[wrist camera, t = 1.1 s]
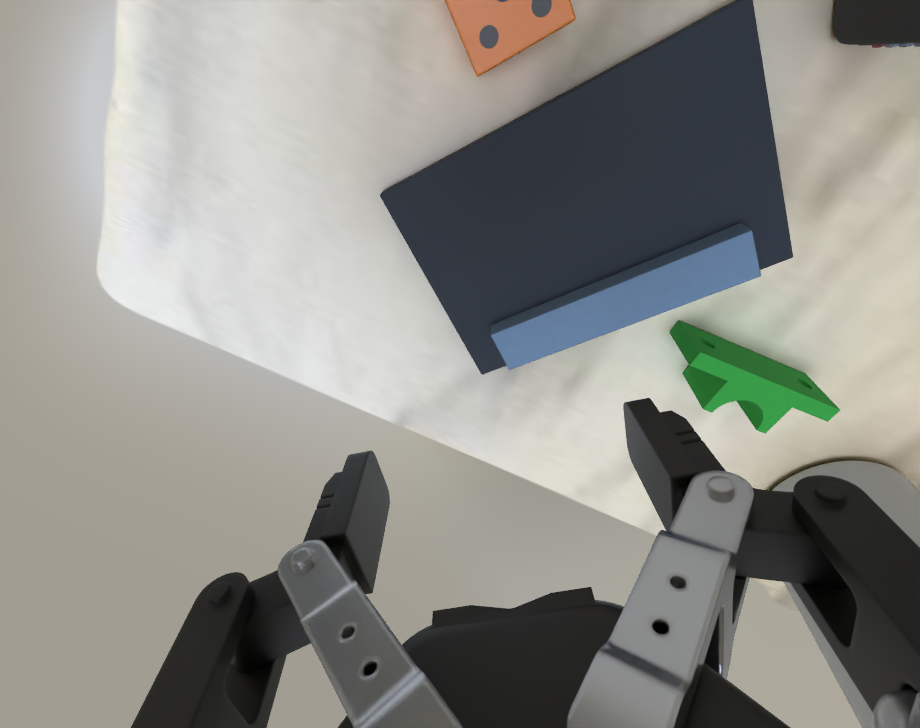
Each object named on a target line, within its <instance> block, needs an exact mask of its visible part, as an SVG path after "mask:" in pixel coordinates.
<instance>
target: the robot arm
mask: <svg viewBox="0 0 920 728" xmlns="http://www.w3.org/2000/svg"><path fill="white" fill-rule="evenodd" d="M624 418H625V428H626V438H627V446H628V451H629V455H630V458H631V461H632V463H633V465H634V467H635V469H636V471H637V473H638V475H639V477H640V479H641V481H642V483H643V485H644V487H645V489H646V491H647V493H648V495H649V497H650V499H651V501H652V503H653V505H654V507H655V509H656V511H657V513H658V515H659V517H660V519H661V521H662V523H663V525H664V527H665V529H666V531H664V530H661V531H660V532H659V533H658V535H657V537H656V539H655V541H654V543H653V545H652V548H651V550H650V552H649V554H648V556H647V559H646V561H645V563H644V565H643V567H642V569H641V572H640V574H639V576H638V578H637V580H636V582H635V584H634V587H633V589H632V591H631V593H630V595H629V597H628V600H627V602H626V604H625V606H624V607H623V606H621V605H617V604H614V603H611V602H606V601H599V600H595V599H594V596H593V592H592V589H591V587H588V588H581V589H575V590H568V591H561V592H555V593H550V594H548V595H545V596H543V597H540V598H538V599H535V600H533V601H530V602H528V603H525V604H523V605H521V606H518V607H516V608H512V609H505V608H493V607H484V606H483V607H482V606H473V605H470V606H463V607H457V608H450V609H444V610H437V611H433V619H432V625H431V626H428V627H426V628H425V629H423V630H421V631H419V632H418V633H416V634H415V635H413V636H412V637H410V638H409V639H408V640H407V641H406V642H405V643H403V645H401V644H400V642H399V641H398V639H397V638H396V636H395V635H394V634H393V632H392V631H391V630H390V628H389V627H388V626H387V624H386V622H385V621H384V620H383V618H382V617H381V615H380V614H379V613H378V611H377V610H376V609H375V607H374V606H373V604H372V603H371V602H370V600H369V599H368V598H367V596H366V595H365V594H370V593H373V588H374V583H375V578H376V572H377V567H378V562H379V557H380V552H381V547H382V542H383V536H384V531H385V526H386V521H387V516H388V510H389V504H390V501H389V500H390V499H389V491H388V488H387V485H386V482H385V479H384V477H383V474H382V472H381V469H380V467H379V464H378V461H377V459H376V456H375V454H374V452H373V451H367V452H361V453H356V454H351V455H349V456H348V457H347V460H346V463H345V465H344V468H343V471H342V472H339V473H335V474H334V475H333V477H332V478H331V479H330V480H329V481H328V482H327V483H326V485H325V487H324V489H323V492H322V494H321V499H320V500H319V502H318V505H317V509H316V510H315V513H314V515H313V518H312V520H311V523H310V526H309V528H308V531H307V534H306V536H305V539H304V541H303V543H301V544H299V545H297V546H295V547H294V548H292V549H291V550H290V551H289V552H288V553H287V554H286V555H285V556H284V557H283V558H282V560H281V562H280V564H279V566H278V570H277V571H275V572H273V573H271V574H268V575H266V576H264V577H261V578H259V579H257V580H254V581H252V582H250V583H249V581H248V579H247V578H246V576H245V575H244V574H242V573H238V572H234V573H229V574H226V575H223V576H221V577H219V578H217V579H216V580H214V581H213V582H211V583H210V584H209V585H208V586H206V587H205V588H204V589H203V590H202V592H201V593H200V594H199V596H198V597H197V599H196V600H195V602H194V604H193V606H192V608H191V610H190V612H189V614H188V616H187V618H186V620H185V622H184V624H183V626H182V628H181V630H180V632H179V634H178V636H177V638H176V640H175V642H174V644H173V646H172V648H171V650H170V652H169V654H168V655H167V658H166V659H165V661H164V663H163V665H162V667H161V669H160V671H159V673H158V675H157V677H156V679H155V681H154V683H153V685H152V687H151V689H150V691H149V693H148V695H147V697H146V699H145V701H144V703H143V705H142V707H141V709H140V711H139V713H138V715H137V717H136V719H135V721H134V723H133V725H132V726H131V728H266V727H267V723H268V720H269V716H270V712H271V709H272V705H273V702H274V698H275V695H276V691H277V688H278V684H279V680H280V677H281V673H282V669H283V666H284V662H285V659H286V655H287V654H289V653H291V652H293V651H295V650H297V649H299V648H301V647H303V646H306V645H308V644H310V643H311V644H312V646H313V648H314V649H315V652H316V654H317V655H318V657H319V659H320V661H321V663H322V665H323V667H324V669H325V671H326V673H327V675H328V677H329V679H330V681H331V683H332V685H333V687H334V689H335V691H336V693H337V695H338V697H339V699H340V701H341V703H342V705H343V707H344V709H345V711H346V713H347V716H346V717H345V719H344V720H343V721H342V723H341V724H340V725H339V727H338V728H790V727H789V726H787V725H786V724H785V723H783V722H782V721H781V720H779V719H778V718H777V717H775V716H774V715H773V714H771V713H770V712H769V711H768V710H766V709H765V708H764V707H762V706H761V705H760V704H758V703H757V702H756V701H754V700H753V699H752V698H750V697H749V696H748V695H746V694H745V693H743V692H742V691H741V690H740V689H738V688H737V687H736V686H734V685H733V684H732V683H730V682H729V681H728V680H726V679H727V675H728V670H729V665H730V659H731V653H732V646H733V640H734V635H735V631H736V627H737V623H738V620H739V615H740V612H741V608H742V604H743V600H744V597H745V593H746V589H747V585H748V582H749V578H758V579H767V580H775V581H783V582H790V583H791V585H792V587H793V588H794V590H795V591H796V593H797V594H798V596H799V598H800V599H801V601H802V602H803V604H804V605H805V607H806V609H807V610H808V612H809V613H810V615H811V616H812V618H813V620H814V621H815V623H816V624H817V626H818V627H819V629H820V631H821V632H822V634H823V635H824V637H825V638H826V640H827V642H828V643H829V645H830V646H831V648H832V649H833V651H834V653H835V654H836V656H837V657H838V659H839V660H840V662H841V664H842V665H843V667H844V668H845V670H846V671H847V673H848V675H849V676H850V678H851V679H852V681H853V682H854V684H855V686H856V687H857V689H858V690H859V692H860V693H861V695H862V697H863V698H864V700H865V701H866V703H867V704H868V706H869V708H870V709H871V711H872V712H873V716H872V720H871V724H870V728H920V547H919V546H918V545H917V544H916V543H915V542H914V541H913V540H912V539H911V538H910V537H909V536H908V535H907V534H906V533H905V532H904V531H903V530H902V529H901V528H900V527H899V526H898V525H897V524H896V523H895V522H894V521H893V520H892V519H891V518H890V517H889V516H888V515H887V514H886V513H885V512H884V511H883V510H882V509H881V508H880V507H879V506H878V505H877V504H876V503H875V502H874V501H873V500H872V499H871V498H870V497H869V496H868V495H867V494H866V493H865V492H864V491H863V490H862V489H861V488H859V487H858V486H856V485H855V484H853V483H851V482H849V481H846V480H844V479H840V478H837V477H832V476H825V475H814V476H808V477H805V478H802V479H800V480H799V481H798V482H797V483H796V484H795V486H794V490H793V492H784V491H768V490H760V489H755V488H752V486H751V485H750V484H749V483H748V482H747V481H746V480H745V479H743V478H742V477H740V476H738V475H736V474H733V473H730V472H726V471H725V470H724V468H723V467H722V466H721V464H720V463H719V462H718V460H717V459H716V458H715V457H714V455H713V454H712V453H711V451H710V450H709V449H708V447H707V446H706V445H705V443H704V442H703V441H701V438H700V437H699V436H698V434H697V433H696V432H694V429H693V428H692V426H691V425H690V424H689V422H688V421H687V420H686V419H685V418H684V417H682V416H680V415H678V414H676V413H675V412H673V411H666V412H661V413H660V412H659V411H658V409H657V408H656V406H655V405H654V403H653V402H652V400H651V399H650V398H646V399H641V400H635V401H630V402H625V403H624Z"/></svg>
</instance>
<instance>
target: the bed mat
mask: <svg viewBox="0 0 920 728" xmlns="http://www.w3.org/2000/svg"><path fill="white" fill-rule="evenodd" d="M380 197H381V198H382V200H383V202H384V204H385V205H386V207H387V209H388V211H389V213H390V214H391V216H392V218H393V220H394V221H395V223H396V225H397V227H398V228H399V230H400V232H401V234H402V235H403V237H404V239H405V241H406V242H407V244H408V246H409V248H410V249H411V251H412V253H413V255H414V256H415V258H416V260H417V262H418V263H419V265H420V267H421V269H422V270H423V272H424V274H425V276H426V278H427V279H428V281H429V283H430V285H431V286H432V288H433V290H434V292H435V293H436V295H437V297H438V299H439V300H440V302H441V304H442V306H443V307H444V309H445V311H446V313H447V314H448V316H449V318H450V320H451V321H452V323H453V325H454V327H455V328H456V330H457V332H458V334H459V335H460V337H461V339H462V341H463V342H464V344H465V346H466V348H467V350H468V351H469V353H470V355H471V357H472V358H473V360H474V362H475V364H476V365H477V367H478V369H479V371H480V372H481V374H485V373H488V372H490V371H493V370H496V369H498V368H501V367H503V366H506V365H507V367H508V369H509V370H510V369H513V368H516V367H518V366H521V365H524V364H526V363H529V362H532V361H535V360H537V359H540V358H543V357H545V356H548V355H551V354H553V353H556V352H559V351H561V350H564V349H567V348H569V347H572V346H575V345H577V344H580V343H583V342H585V341H588V340H591V339H593V338H596V337H599V336H601V335H604V334H607V333H610V332H612V331H615V330H618V329H620V328H623V327H626V326H628V325H631V324H634V323H636V322H639V321H642V320H644V319H647V318H650V317H652V316H655V315H658V314H660V313H663V312H666V311H668V310H671V309H674V308H676V307H679V306H682V305H685V304H687V303H690V302H693V301H695V300H698V299H701V298H703V297H706V296H709V295H711V294H714V293H717V292H719V291H722V290H725V289H727V288H730V287H733V286H735V285H738V284H741V283H743V282H746V281H749V280H751V279H754V278H757V277H760V276H761V274H760V270H761V269H763V268H766V267H769V266H771V265H774V264H777V263H779V262H782V261H785V260H787V259H790V258H792V257H793V253H792V247H791V241H790V234H789V228H788V222H787V215H786V209H785V203H784V196H783V190H782V184H781V177H780V171H779V165H778V158H777V152H776V146H775V139H774V133H773V127H772V120H771V114H770V108H769V101H768V95H767V89H766V82H765V76H764V70H763V63H762V57H761V51H760V44H759V38H758V32H757V25H756V19H755V13H754V6H753V0H735V1H733V2H732V3H730V4H728V5H726V6H724V7H722V8H720V9H719V10H717V11H715V12H713V13H711V14H709V15H708V16H706V17H704V18H702V19H700V20H698V21H696V22H695V23H693V24H691V25H689V26H687V27H685V28H683V29H682V30H680V31H678V32H676V33H674V34H672V35H671V36H669V37H667V38H665V39H663V40H661V41H659V42H658V43H656V44H654V45H652V46H650V47H648V48H647V49H645V50H643V51H641V52H639V53H637V54H635V55H634V56H632V57H630V58H628V59H626V60H624V61H622V62H621V63H619V64H617V65H615V66H613V67H611V68H610V69H608V70H606V71H604V72H602V73H600V74H598V75H597V76H595V77H593V78H591V79H589V80H587V81H585V82H584V83H582V84H580V85H578V86H576V87H574V88H573V89H571V90H569V91H567V92H565V93H563V94H561V95H560V96H558V97H556V98H554V99H552V100H550V101H549V102H547V103H545V104H543V105H541V106H539V107H537V108H536V109H534V110H532V111H530V112H528V113H526V114H524V115H523V116H521V117H519V118H517V119H515V120H513V121H512V122H510V123H508V124H506V125H504V126H502V127H500V128H499V129H497V130H495V131H493V132H491V133H489V134H487V135H486V136H484V137H482V138H480V139H478V140H476V141H475V142H473V143H471V144H469V145H467V146H465V147H463V148H462V149H460V150H458V151H456V152H454V153H452V154H451V155H449V156H447V157H445V158H443V159H441V160H439V161H438V162H436V163H434V164H432V165H430V166H428V167H426V168H425V169H423V170H421V171H419V172H417V173H415V174H414V175H412V176H410V177H408V178H406V179H404V180H402V181H401V182H399V183H397V184H395V185H393V186H391V187H389V188H388V189H386V190H384V191H383V192H382V193H381V194H380Z"/></svg>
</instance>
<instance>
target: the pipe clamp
mask: <svg viewBox="0 0 920 728" xmlns="http://www.w3.org/2000/svg"><path fill="white" fill-rule="evenodd" d="M670 334H671V336H672V337H673V339H674V341H675V342H676V344H677V346H678V347H679V349H680V350H681V352H682V354H683V355H684V357H685V359H686V360H687V362H688V364H689V366H688V367H687V369H686V370H685V371H684V372H683V375H684V377H685V378H686V380H687V382H688V384H689V385H690V387H691V389H692V391H693V392H694V394H695V396H696V398H697V399H698V401H699V403H700V405H701V406H702V408H703V409H704V410H707V411H709V412H713V411H714V410H715V409H717V408H718V407H719V406H721V405H723V404H725V403H728V402H731V401H737V402H738V404H739V405H740V407H741V408H742V409H743V411H744V412H745V414H746V415H747V417H748V418H749V420H750V421H751V423H752V424H753V426H754V427H755V428H756V430H758V431H760V432H763V433H766V432H767V431H768V430H769V429H770V428H771V427H772V426H773V425H774V424H776V423H777V422H778V421H779V420H780V419H781V418H782V417H783V416H784V415H785V414H786V413H787V412H788V411H789V410H790V409H791V408H792V407H793V408H795V409H798V410H800V411H803V412H805V413H808V414H810V415H813V416H815V417H818V418H820V419H822V420H825V421H827V422H828V421H829V420H830V419H831V418H832V417H833V416H834V415H835V414H837V413H838V412H839V411H840V409H839V408H838V407H837V406H836V405H835V404H834V403H833V402H832V401H831V400H830V399H829V398H828V397H827V396H826V395H825V394H824V393H823V392H822V391H821V389H820V388H819V387H818V386H817V385H816V384H815V383H814V382H813V381H812V380H811V379H810V378H809V377H808V376H807V375H806V374H805V373H803V372H800V371H798V370H796V369H793V368H791V367H788V366H786V365H784V364H781V363H779V362H777V361H774V360H772V359H769V358H767V357H765V356H762V355H760V354H758V353H755V352H753V351H750V350H748V349H746V348H743V347H741V346H739V345H736V344H734V343H731V342H729V341H727V340H724V339H722V338H720V337H717V336H715V335H712V334H710V333H708V332H705V331H703V330H701V329H698V328H696V327H693V326H691V325H689V324H686V323H684V322H682V321H678V322H677V324H676V325H675V326H674V328H673V329H672V330H671V332H670Z"/></svg>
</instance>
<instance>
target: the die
mask: <svg viewBox="0 0 920 728" xmlns="http://www.w3.org/2000/svg"><path fill="white" fill-rule="evenodd" d="M445 2H446V4H447V7H448V9H449V11H450V14H451V16H452V19H453V21H454V23H455V26H456V28H457V31H458V33H459V35H460V38H461V40H462V42H463V45H464V47H465V50H466V52H467V54H468V57H469V59H470V62H471V64H472V66H473V69H474V71H475V73H476V75H477V76H480V75H482V74H484V73H485V72H487V71H489V70H490V69H492V68H494V67H496V66H497V65H499V64H501V63H502V62H504V61H506V60H508V59H509V58H511V57H513V56H514V55H516V54H518V53H520V52H521V51H523V50H525V49H526V48H528V47H530V46H531V45H533V44H535V43H537V42H538V41H540V40H542V39H543V38H545V37H547V36H549V35H550V34H552V33H554V32H555V31H557V30H559V29H561V28H562V27H564V26H566V25H567V24H569V23H571V22H573V21H574V20H575V14H574V11H573V8H572V5H571V2H570V0H445Z"/></svg>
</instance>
